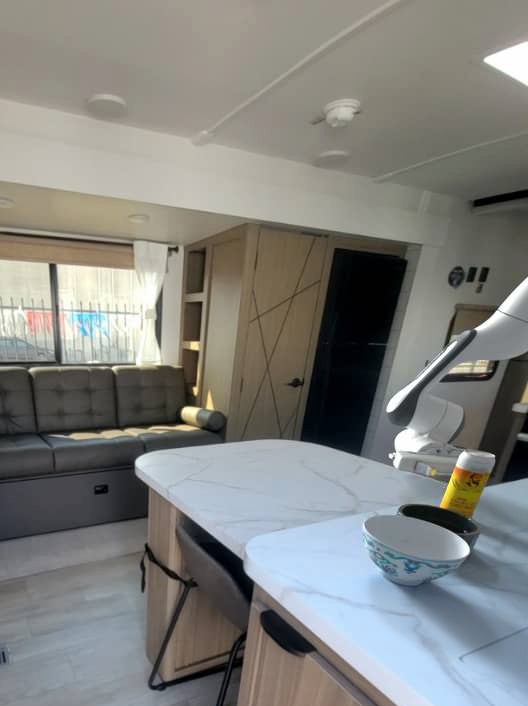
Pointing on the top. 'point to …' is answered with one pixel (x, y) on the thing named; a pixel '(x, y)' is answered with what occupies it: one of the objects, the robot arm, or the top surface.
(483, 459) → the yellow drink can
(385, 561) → the chinaware
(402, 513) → the dark green bowl
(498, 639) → the top surface
